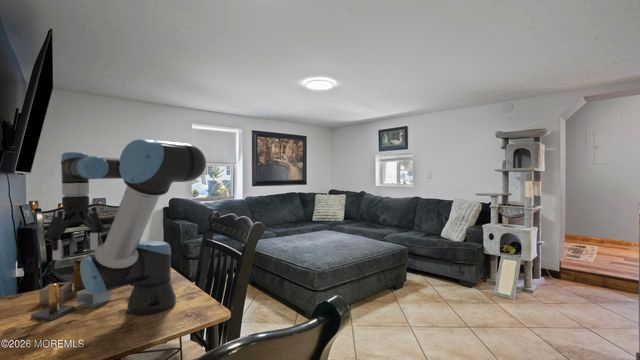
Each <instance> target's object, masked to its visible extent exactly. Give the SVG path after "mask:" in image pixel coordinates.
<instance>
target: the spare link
mask: <svg viewBox="0 0 640 360" xmlns="http://www.w3.org/2000/svg"><path fill="white" fill-rule="evenodd" d="M52 284H57V285H58V286H59V304H60V303H64V302H65V301H67V299H69V298H70V297H71V296H73V292H72V289H73V282H72V281H67V282H56V283H49V284H48V285H46V286H45V287H43V288H42V289H39V305H49V287H50V286H51V285H52Z"/></svg>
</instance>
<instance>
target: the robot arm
mask: <svg viewBox="0 0 640 360" xmlns="http://www.w3.org/2000/svg"><path fill="white" fill-rule="evenodd" d="M60 166H61V195H62V196H63V197H62V198H61V205H62V208H63V210H54V211H53V215H52V219H51V221H50V223H49V225H48V228H47V229H46V231H45V233H44V235H43V240H44V241H49V242H50V243H49V244H50V251H52V260H53V261H61V260H63V257H62V254H63V253H62V249H63V247H62V240H61V237H62V236H63V234H65V232H66V230H67V229H68V227H69V226H70V225H71V224H73V223H77V222H82V223H83V224H84V225H85V226H86V227H87V228H88V230H90V231H91V232H90V233H89V249H90V250H89V251H94V253H93V255H91V256H87V257H83V258H84V259H82V258H81V259H82V261H81V264H80V273H81V278H82V282H83V284H84V286H85V288H86V290H87V291H88V292H89V293H91V294H99V293H103V292H105V293H106V292H107V291H110V290H111V291H113V290H117V289H119V288H123V287H127V286H129V285H130V286H131V284H133V283H134V286H132V287H133V288H132V291H131V293H130V297H129V300H128V302H127V312H128V313H129V314H132V315H136V316H147V315H148V316H149V315H153V314H158V313H162V312H164V311H166V310H169V309H170V308H172V307H173V306H174V305H176V300H177V299H176V298H177V297H176V293H175V291H174V289H173V285H172V281H171V277H172V275H171V274H172V273H171V267H172V264H171V263H172V260H171V256H172V249H171V245H170V243H168V242H166V241H161V240H160V241H158V240H141V239H142V237H143V234H145V233H144V232H145V230H146V228H147V225H148V223H149V221H150V218H151V216H152V214H153V213H154V210H155V207H156V205H157V203H158V201H159V198H160V196H161V197H162V196H163V195H164V196H165V195H166V194H167V193H168V191H169V190H170V188H171V186H172V184H173V183H187V182H191V181H195V180H197V179H199V178H200V177H201V176H202V175H203V174H204V172H205V169H206V167H207V160H206V157H205V154H204V153H203V151H202V150H201V149H200V148H198V147H197V146H194V145H193V144H189V143H184V142H176V141H175V142H172V141H164V140H157V139H152V138H147V139H146V138H145V139H144V138H143V139H142V138H141V139H140V138H139V139H135V140H132V141H130V142H129V143H128V144H126V146H125V147H124V148H123V149H122V152H121V154H120V157H119V158H115V157H100V156H91V155H88V153H85V152H77V151H76V152H74V151H73V152H72V151H71V152H66V151H65V152H63V153H62V154H61V160H60ZM103 179H105V180H110V179H113V180H115V179H118V180H119V179H123V182H124V184H125V186H126V187H125V190H124V193H123V196H122V199H121V201H120V203H119V206H118V209H117V211H116V213H115V216H114V218H113V221H112V224H111V226H110V229H109V231H108V233H107V236H106V239H105V241H104V242H103V243H101V244H99V240H100V233H102V231H104V230H105V226H104V225H103V223H102V221H101V219H100V217H99V215H98V212H97V211H98V210H97V207H95V206H93V207H92V206H89V205H90V196H89V194H90V181H89V180H103ZM88 206H89V207H88ZM59 239H60V240H59Z"/></svg>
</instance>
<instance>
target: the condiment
mask: <svg viewBox="0 0 640 360" xmlns="http://www.w3.org/2000/svg"><path fill="white" fill-rule="evenodd" d="M84 258H85V257H82V258H78V259H75V260H74V268H73V288H72V293H77V292H78V291H81V290H84V289H86V288H85V286H84V284H83V282H82V278H81V273H80V264H81V261H82V259H84Z"/></svg>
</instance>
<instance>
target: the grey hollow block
mask: <svg viewBox="0 0 640 360" xmlns="http://www.w3.org/2000/svg"><path fill="white" fill-rule="evenodd" d="M111 300H112V290H110V291H107V292H106V293H105V292H103V293H99V294H91V293H89V292H88V291H87V290H86V289H84V290H81V291H78V292H76V307H82V308H90V309H93V308H97V307H98V306H101V305H103V304H105V303H107V302H108V301H111Z"/></svg>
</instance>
